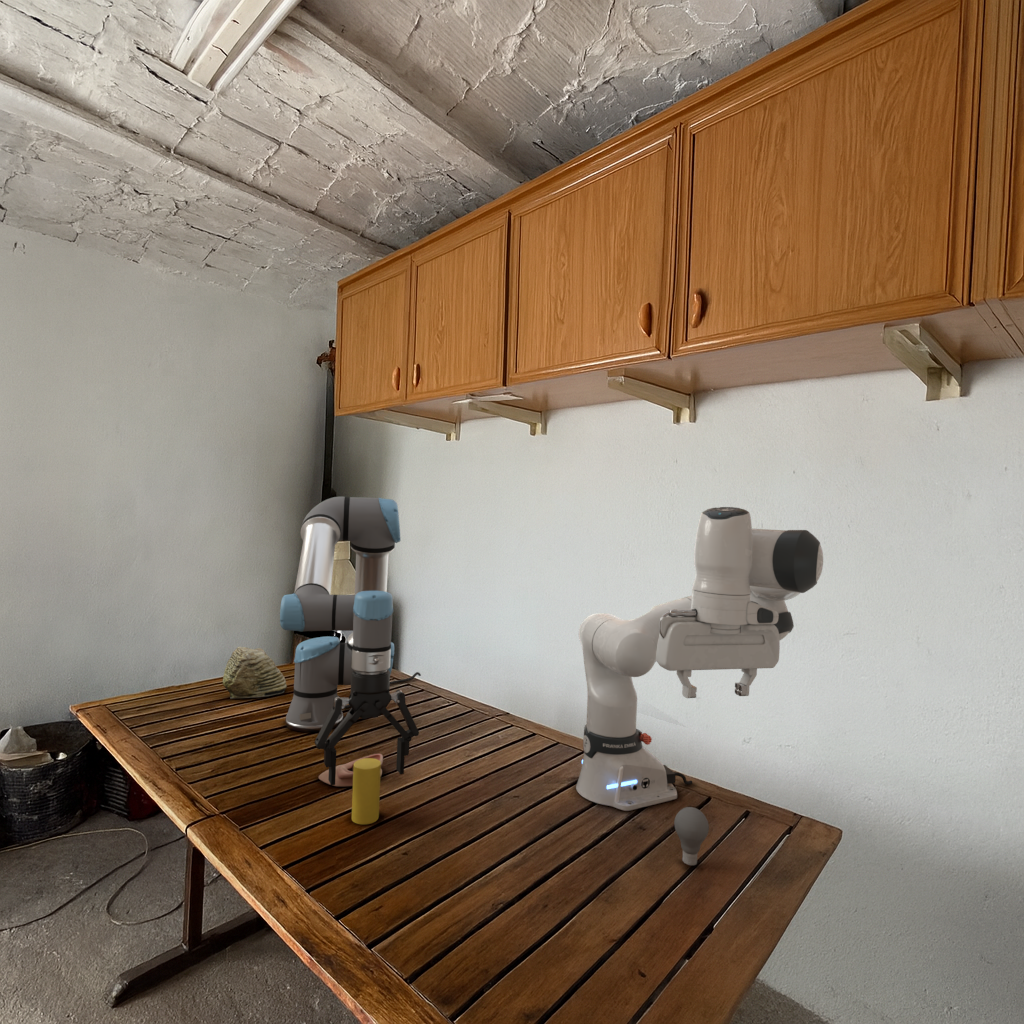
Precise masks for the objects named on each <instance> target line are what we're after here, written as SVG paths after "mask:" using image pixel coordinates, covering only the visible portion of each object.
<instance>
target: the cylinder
mask: <svg viewBox="0 0 1024 1024" xmlns="http://www.w3.org/2000/svg"><path fill="white" fill-rule="evenodd" d="M359 759H360V758H359ZM356 760H357V759H356ZM381 769H382V765H381V762H380V761H379V760H377V759H373V758H364V759H360V760H357V761H356V762H355V763H354V768H353V786H352V793H351V794H352V796H351V798H352V799H351V821H352V822H353V823H354V824H356V825H370V824H373V823H375V822H377V821H378V820H379V817H380V796H381V777H380V775H381ZM381 776H382V775H381Z"/></svg>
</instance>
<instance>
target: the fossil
mask: <svg viewBox="0 0 1024 1024" xmlns="http://www.w3.org/2000/svg"><path fill="white" fill-rule="evenodd" d="M222 676H223V677H222V685H223V687H224V688H225V690H226V691H228V693H229V698H230V699H250V698H264V697H271V696H275V695H281V694H284V693H285V691H286V689H287V687H288V686H287V680H286V678H285V676H284V674H283V673H282V672H281V669H279V668H278V667H277V665H276V663H275V662H274V660H273V659H272V658H271V657H270V656H269V655H268V654H267V653H266V652H265V650H264V649H263V648H260V647H258V648H251V647H247V646H246V647H245V646H238V647H237V648H236V649H235V650H233V651H232V653H231V656H230V657H229V659H228V660H227V663H226V666H225V668H224V671H223V675H222Z"/></svg>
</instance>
